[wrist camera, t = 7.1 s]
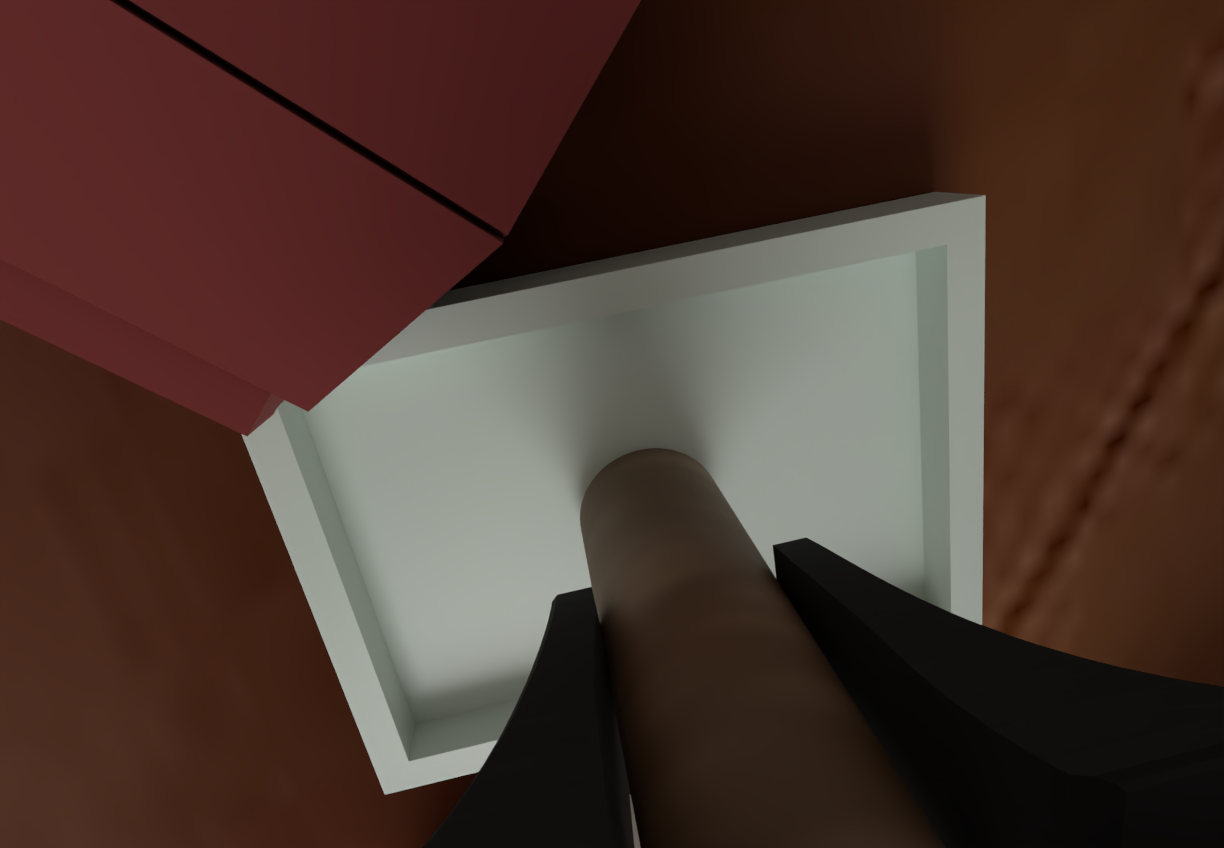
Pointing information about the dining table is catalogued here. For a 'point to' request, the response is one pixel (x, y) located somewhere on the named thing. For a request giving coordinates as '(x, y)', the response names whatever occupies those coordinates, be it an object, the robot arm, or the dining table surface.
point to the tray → (631, 447)
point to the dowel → (725, 680)
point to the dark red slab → (269, 176)
